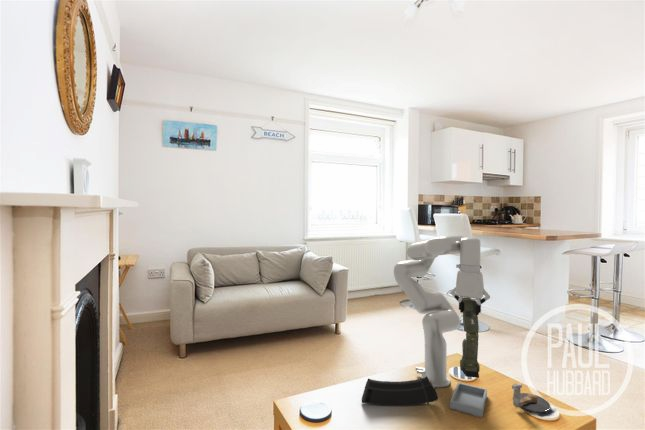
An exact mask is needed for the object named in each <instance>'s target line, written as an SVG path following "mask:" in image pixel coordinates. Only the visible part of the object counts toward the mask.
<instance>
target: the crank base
mask: <svg viewBox="0 0 645 430" xmlns="http://www.w3.org/2000/svg"><path fill="white" fill-rule="evenodd" d="M527 394H530V393H526V392H522V393H521V392H520V399H521V398H524V397H527ZM535 395H536V394H535ZM536 396H537V397H538V400H537V403H532V402H530V403H527V404H524V405H521V406H520V407H519V408H520V409H522V410H524V411H526V412H529V413H533V414H536V415H537V414H538V415H539V414H540V415H544V414H548V413H550V411H551V404H550V403H549V401H548V400H546V399H545V398H543V397H541V396H539V395H536ZM549 408H550V409H549ZM547 409H549V410H547ZM545 410H547V411H545Z"/></svg>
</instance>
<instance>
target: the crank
mask: <svg viewBox="0 0 645 430" xmlns="http://www.w3.org/2000/svg"><path fill="white" fill-rule="evenodd" d="M522 388H523V384H521V382H520V383H519V382H518V383H515V384H512V385H511V389H513V390H512V391H513V392H512V393H513V398H512V399H513V400H512V401H513V404H512V405H513V406H514V407H515V408H520V406H521V405H524V404H527V403H530V402H532V403H537V400H538V397H537V396H538V395H537V396H536V394H533V393H529V394H527V397H524V398H521V399H520V393H521V389H522Z"/></svg>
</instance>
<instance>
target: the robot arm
mask: <svg viewBox="0 0 645 430" xmlns="http://www.w3.org/2000/svg"><path fill="white" fill-rule="evenodd" d="M406 254H407V257H408V258H409V260H402V261H399V262H397V263H396V264H395V265H394V267H393V276H394V278H395V281H396V283H397V285H398V286H399V288H400V289H402V291H403V293H404V294H405V295H406V296H407V298H408V300H409V301H410V303H411V304H412V306H413V307H414V310H416V312H417V313H418V314H420V315H424V316H423V317H422V320H421V322H422V329H423V335H424V367H419V366H415V371H416V373H417V374H419V375H421V376H420V377H421V378H420V379H422V378H425V377H426V376H427V377H428V379H429V381H430V380H431V381H432V383H433V385H434V388H438V389H439V388H446V387H448V386H449V385H450V383H451V379H450V378H449V377H448V375H447V359H448V358H447V357H448V356H447V353H448V352H447V348H448V347H447V341H446V339H445V338H444V335H443V334H444V333H445V334H446V332H453V331H456V330H457V329H459V327H460V326H461V319H460V317H459V315H458V313H457V311H456V309H454V308H453V306H452V305H451V303H450V302H449V300H448V299H447V298H446V297H445V296H444V295H443V294H442V293H441V292H439V291H431V292H430V291H429V292H427V291H426V290H425V289H424V288H423V286H422V285H421V284H420V283H419V282H418V281H417V280H415V279H413V278H417V277H423V276H425V275H427V273H428V272H429V271H430V269H431V267H432V265H433V263H434V261H435V260H436V259H437V258H438V257H439V256H446V255H447V256H448V255H455V254H459V263H458V264H455V267H456V268H457V269H459V270H457V274H456V279H455V280H456V283H455V287H453V289H452V290H451V291H450V292H449V293H450V295H451V296H452V297H454V299H455V300H456V301H457V302H458V310H459V312H460V314H461V313H462V314H463V300H462V299H463V298H471V299H475V301H477V305H476V315H477V316H479V314H481V313H482V304H484V303H485V302H486V301H488V300H489V299H491V294H489V293H488V291H486V290H485V288H484V287H485V286H484V276H483V272H482V271H481V240H480V239H479V238H477V237H467V236H464V235H447V236H446V235H445V236H439V237H434V238H430V239H427V240H424V241H419V242H415V243H412V244H410V245H409V246H408V247H407V250H406Z"/></svg>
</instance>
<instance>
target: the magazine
mask: <svg viewBox="0 0 645 430" xmlns="http://www.w3.org/2000/svg"><path fill="white" fill-rule="evenodd" d="M361 396H362V397H361V404H367V405H368V404H369V405H374V406H375V405H376V406H385V407H409V406H416V405H423V404H427V405H429V406H430V403H432V402H436V401H439V396H438V393H437V389H436V387H434V385H433V383H432V381H431V380H430V381H429V379H428V377H427V376H426V377H425V378H422V379H421V378H418V379H414V380H413V379H412V380H402V381H391V380H390V381H387V380H385V381H384V380H382V381H381V380H376V379H371V378H367V380H366V382H365V386H364V390H363V393H362V395H361Z"/></svg>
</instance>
